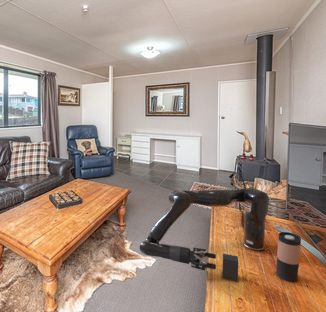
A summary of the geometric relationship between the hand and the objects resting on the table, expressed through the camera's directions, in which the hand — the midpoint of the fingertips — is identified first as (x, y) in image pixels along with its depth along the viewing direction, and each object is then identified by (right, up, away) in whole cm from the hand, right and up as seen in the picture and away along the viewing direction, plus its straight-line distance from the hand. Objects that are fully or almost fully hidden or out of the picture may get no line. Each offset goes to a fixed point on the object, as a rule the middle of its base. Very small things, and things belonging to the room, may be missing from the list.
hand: (215, 261), depth 108 cm
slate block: (+6, -6, -2) cm, 9 cm away
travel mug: (+30, -5, -4) cm, 31 cm away
